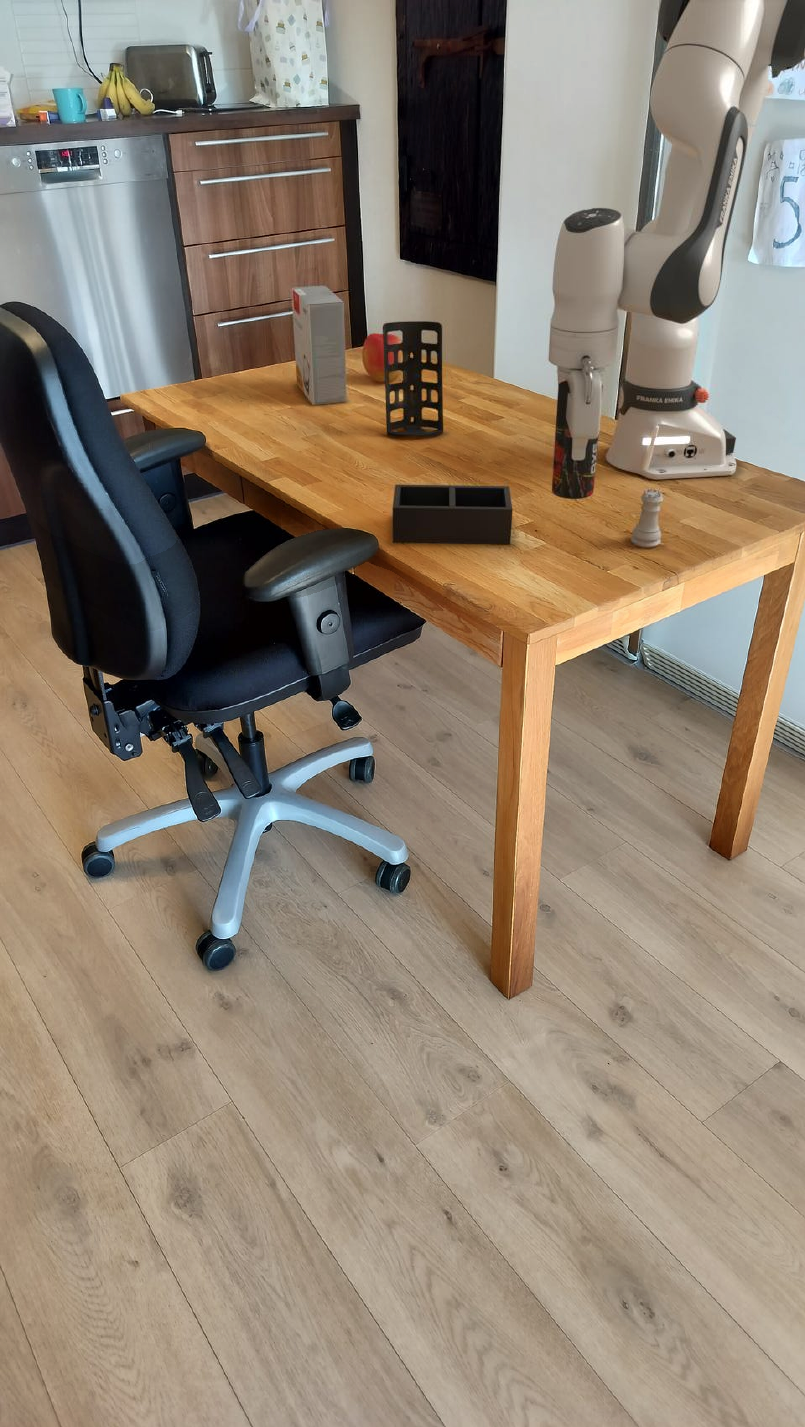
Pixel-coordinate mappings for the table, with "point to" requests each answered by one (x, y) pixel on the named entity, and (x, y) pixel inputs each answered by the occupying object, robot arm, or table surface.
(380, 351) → the apple
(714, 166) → the robot arm
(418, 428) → the holder
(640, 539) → the rook chess piece
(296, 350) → the hard drive box
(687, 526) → the table surface
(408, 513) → the box
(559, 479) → the deodorant
